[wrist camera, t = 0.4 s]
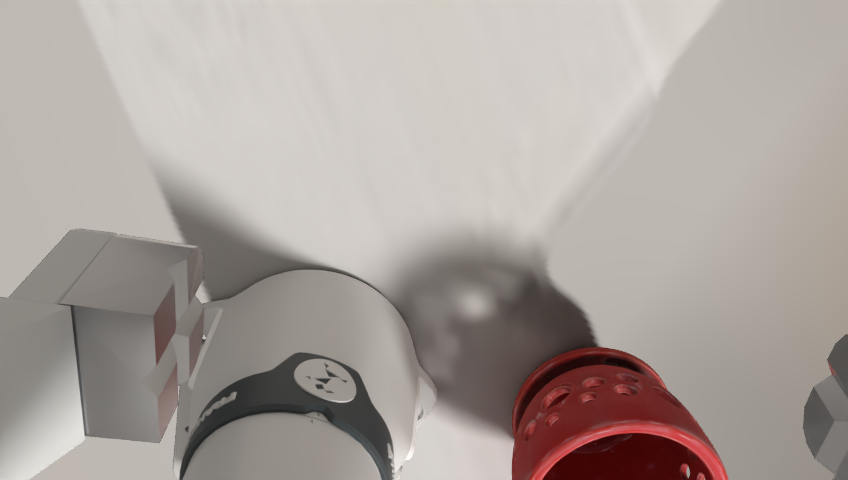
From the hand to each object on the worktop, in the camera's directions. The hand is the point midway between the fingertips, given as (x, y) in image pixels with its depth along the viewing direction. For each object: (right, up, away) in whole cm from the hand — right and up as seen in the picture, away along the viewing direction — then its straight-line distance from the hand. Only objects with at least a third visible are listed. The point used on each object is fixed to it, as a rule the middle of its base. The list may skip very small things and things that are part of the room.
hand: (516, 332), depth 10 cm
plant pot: (+11, -11, +48) cm, 50 cm away
